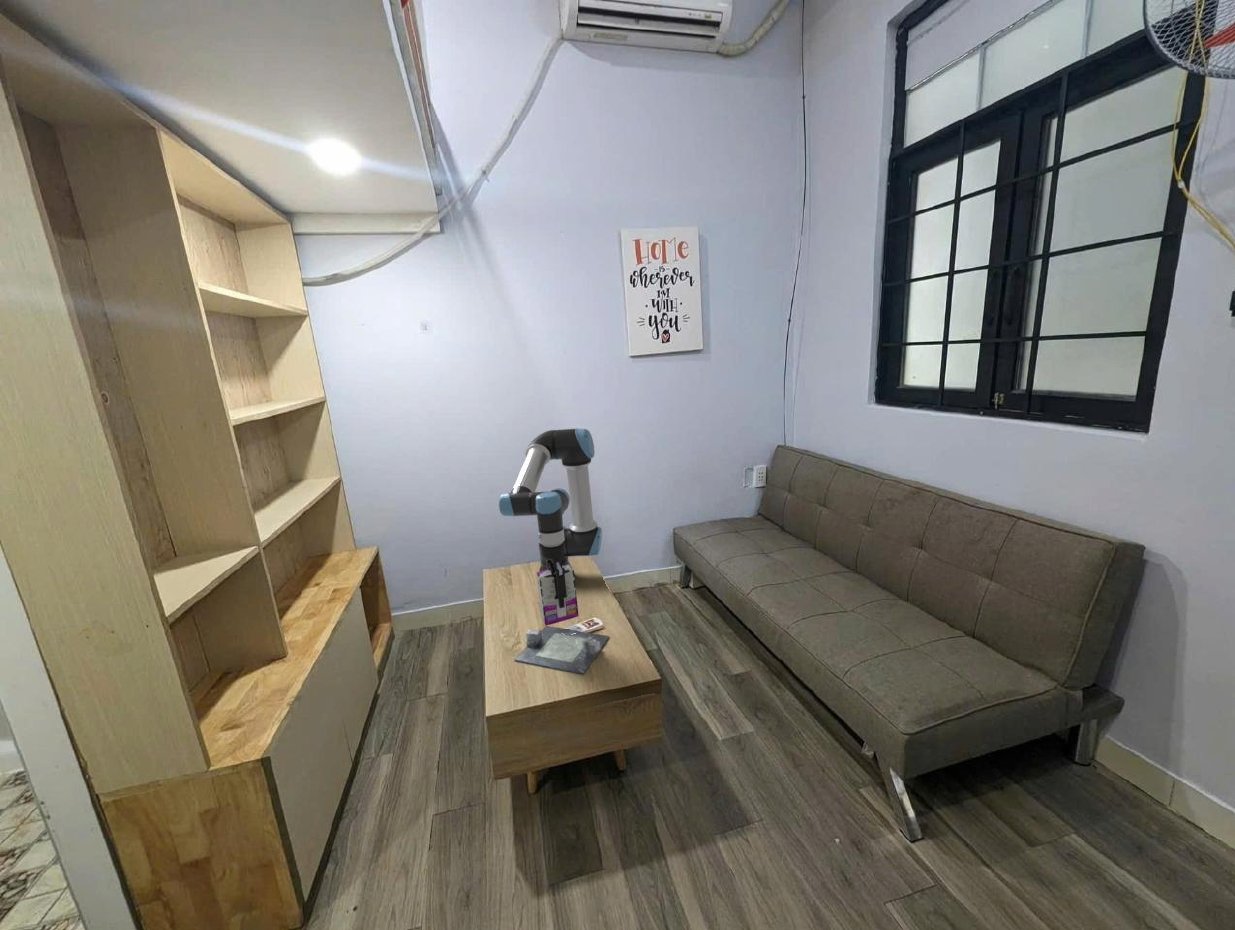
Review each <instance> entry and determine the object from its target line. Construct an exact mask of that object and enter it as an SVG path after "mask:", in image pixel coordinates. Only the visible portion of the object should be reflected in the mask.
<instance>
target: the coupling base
mask: <svg viewBox="0 0 1235 930" xmlns="http://www.w3.org/2000/svg"><path fill="white" fill-rule="evenodd" d="M561 633H576V634H573V635H571V634H570V635H563V634H561ZM525 637H526V641H525V644H526V646H525V648H523V649H522V650H521V652H520V653H519V654H518V655H517V656H516V657H515V658H514V660H513V661H515V662H518V663H523V664H528V665H533V666H537V667H544V668H549V669H553V670H557V671H558V670H559V671H564V672H568V673H573V674H579V675H585V673H586V672H587V670H588V669H589V668H590V666H591V664H592V663H593V662H594V660H595V658H596V657H597V656H598V654H599V653H600V651H601V650H602V648H603V647H604V646H605V644H606V643H607V641H608V640H609V638H610V636H609V635H606V634H605V635H604V634H598V633H594V632H592V633H591V632H586V631H580V630H574V629H569V628H568V629H567V628H562V627H556V626H552V625H551V626H550V625H547V626H545V625H544V627H543V629H541V628H537V629H527V631H526V632H525Z"/></svg>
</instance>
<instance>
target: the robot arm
mask: <svg viewBox="0 0 1235 930" xmlns="http://www.w3.org/2000/svg"><path fill="white" fill-rule="evenodd" d="M524 454H525V459H524V462H523V464H522V467H521V468H520V470H519V473H518V475H517V477H516V480H515V482H514V484H513V486H512V489H511V491H510V492H506V493H505V492H504V493H502V494H500V496H499V498H498V508H499V513H500V514H501V515H502V516H503V517H512V518H513V517H514V518H515V517H524V516H525V517H527V516H529V517H530V516H536V517H537V525H538V527H537V528H538V533H537V540H538V541H537V543H538V549H539V559H540V566H539V571H538V572H540V571H544V570H550V569H551V574H552V576H553V577H554V582H555V590H556V597H554V598H555V599H556V606H557V616H558V617H562V616H566V605H565V598H566V597H567V594H566V584H565V569H564V568H562V566H564V565H568V564H569V565H570V566H571V563H570V560H569V557H590V556H592V557H593V556H598V555H599V554H600V552H601V547H602V536H603V528H602V527H600V526H598V522H597V521H596V520H594V517H593V516H594V515H593V505H592V504H593V503H592V495H591V485H590V484H591V483H590V475H589V465H590V464H591V463H592V459H593V458H594V457H595V445H594V440H593V436H592V434H591V432H590V431H589V429H587V428H565V429H551V430H546V431H544V432H542V433H541V434H540V433H539V435H537V436H536V437H535V438H534V439H533V440H532V441H531V442H530V443H529V444H528V446H527V448H526V449H525V453H524ZM552 460H556V461H557V460H561V465H562V466H563V467H564V468H566V476H567V478H566V479H567V486H568V492H567V490H566V489H563V488H560V487H557V488H554V489H552V490H550V491H537V492H536V490H537V487H538V485H539V483H540V480H541V478H542V474H543V472H544V469H545V466H547V464H548V463H549V462H550V461H552ZM569 504H570V512H571V519H572V520H571V521H572V522H571V523H570V524H569V526H568V527H569V528H566V525H565V524H564V523H563V522H564V521H563V519H564V518H563V515H564V514H565V512H566V510H568V508H569ZM571 567H572V566H571ZM554 573H556V574H554Z"/></svg>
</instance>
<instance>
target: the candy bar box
mask: <svg viewBox="0 0 1235 930" xmlns="http://www.w3.org/2000/svg"><path fill="white" fill-rule="evenodd" d="M570 565H571V564H570ZM570 565H569V564H568V565H564V566H562V568H564V569H565V584H566V594H567V597H566V598H565V605H566V616H562V617H558V616H557V606H556V599H555V598H554V597H556V590H555V582H554V577H553V576H552V574H551V569H550V570H544V571H540V572H539V571H537V572H535V573H536V582H537V589H538V599H539V607H540V614H541V615H540V616H541V620H542V622H543V624H544V627H545V626H550V625H551V626H552V625H554V624H557V623H558V624H559V623H560V622H564V621H568V620H571V619H574V618H578V617H579V608H578V597H577V588H576V580H575V578H576V577H575V570H574V568H573V567H572V566H570ZM554 574H556V573H554Z"/></svg>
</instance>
